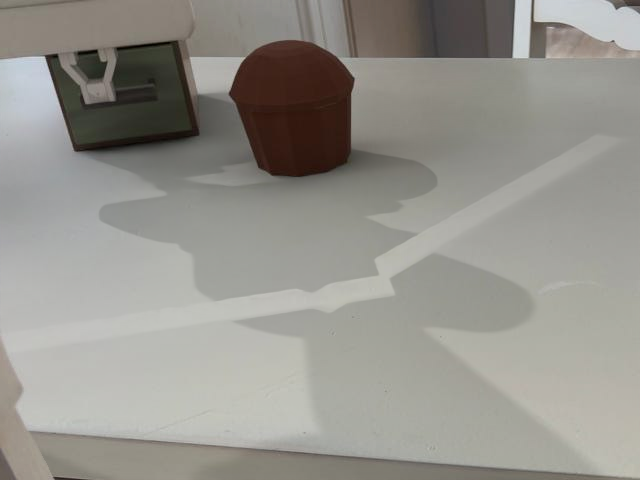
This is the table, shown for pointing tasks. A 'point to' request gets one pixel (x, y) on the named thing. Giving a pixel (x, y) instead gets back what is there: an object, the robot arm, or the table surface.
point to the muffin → (295, 107)
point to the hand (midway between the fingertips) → (101, 101)
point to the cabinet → (193, 111)
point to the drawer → (127, 95)
